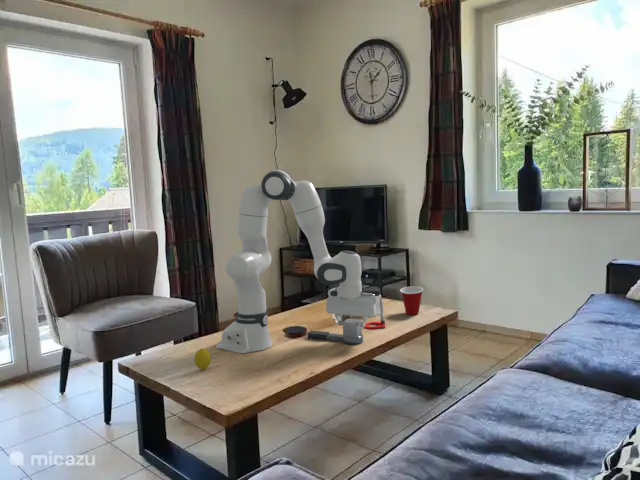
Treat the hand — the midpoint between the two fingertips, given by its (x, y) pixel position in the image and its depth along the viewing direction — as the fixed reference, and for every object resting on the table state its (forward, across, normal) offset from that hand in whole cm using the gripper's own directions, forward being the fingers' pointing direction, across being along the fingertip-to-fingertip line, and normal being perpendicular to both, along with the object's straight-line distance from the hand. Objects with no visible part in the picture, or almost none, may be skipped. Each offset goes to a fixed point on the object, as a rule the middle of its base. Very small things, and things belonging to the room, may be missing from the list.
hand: (351, 325), depth 201 cm
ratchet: (+7, +7, 0) cm, 10 cm away
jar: (+7, +4, -41) cm, 42 cm away
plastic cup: (+6, -14, -46) cm, 48 cm away
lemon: (+8, +40, +44) cm, 60 cm away
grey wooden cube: (+4, -1, 0) cm, 4 cm away
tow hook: (+7, -3, -22) cm, 23 cm away
